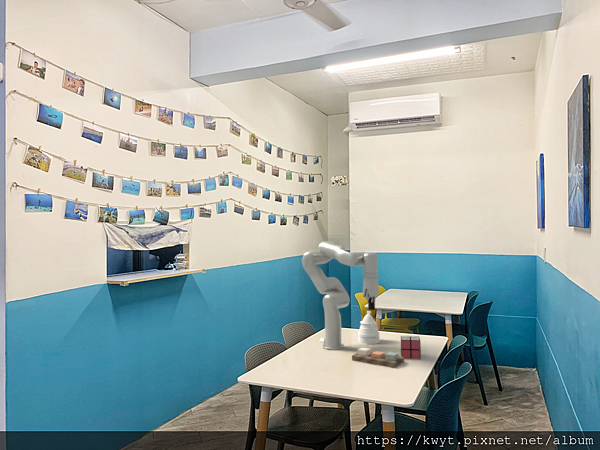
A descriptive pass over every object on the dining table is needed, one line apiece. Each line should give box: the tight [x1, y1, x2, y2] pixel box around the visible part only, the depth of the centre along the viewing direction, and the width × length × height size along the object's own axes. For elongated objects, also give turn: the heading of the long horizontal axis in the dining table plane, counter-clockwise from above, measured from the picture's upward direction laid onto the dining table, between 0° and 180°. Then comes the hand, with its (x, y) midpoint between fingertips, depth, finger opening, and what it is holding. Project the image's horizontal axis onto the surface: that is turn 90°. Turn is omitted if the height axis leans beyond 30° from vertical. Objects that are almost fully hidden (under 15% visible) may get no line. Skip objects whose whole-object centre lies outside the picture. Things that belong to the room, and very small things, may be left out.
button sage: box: [384, 351, 400, 361], centre depth 232 cm, size 5×5×3 cm
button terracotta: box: [371, 350, 385, 359], centre depth 237 cm, size 5×5×3 cm
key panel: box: [351, 351, 405, 369], centre depth 237 cm, size 24×12×2 cm, turn 52°
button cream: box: [357, 347, 372, 356], centre depth 242 cm, size 5×5×3 cm
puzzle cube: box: [400, 335, 422, 360], centre depth 245 cm, size 10×10×10 cm
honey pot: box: [357, 310, 380, 345], centre depth 280 cm, size 13×13×18 cm
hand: (371, 309), depth 247 cm, fingers closed
